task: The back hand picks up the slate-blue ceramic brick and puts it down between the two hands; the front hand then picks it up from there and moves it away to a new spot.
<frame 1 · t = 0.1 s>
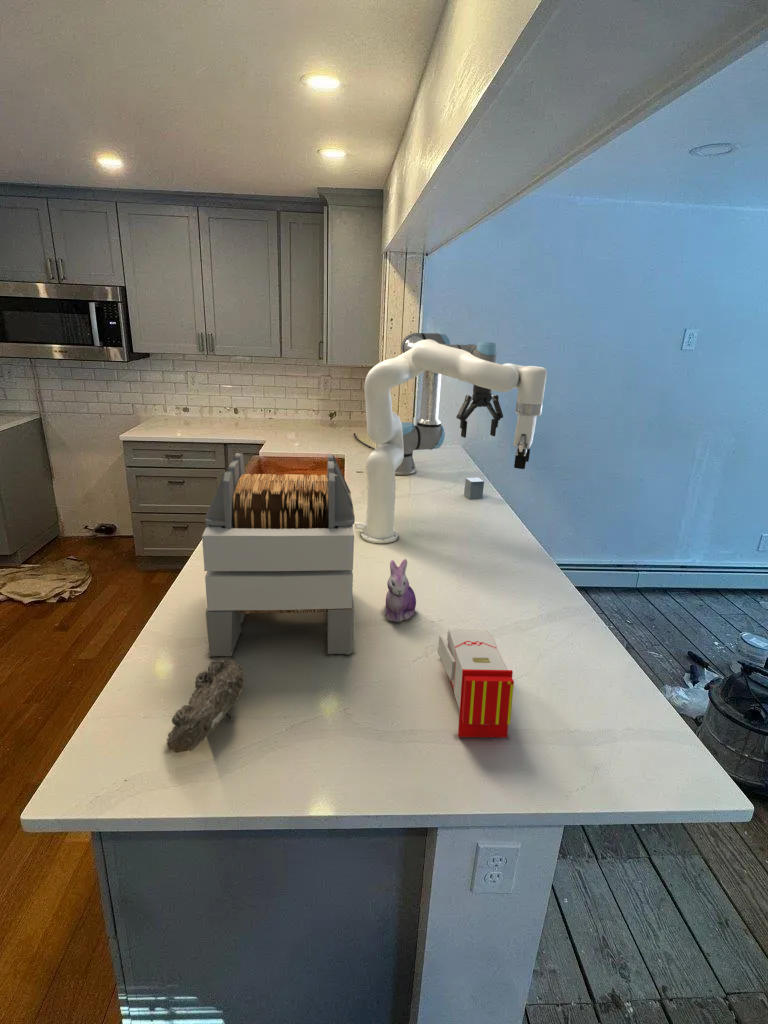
front hand: (521, 464, 175), 31 cm above the counter, tool pointing down, fingers open, 9 cm apart
back hand: (478, 436, 228), 28 cm above the counter, tool pointing down, fingers open, 13 cm apart
toy: (469, 691, 119), on the counter
fossil: (212, 717, 108), on the counter
figurine: (399, 614, 147), on the counter
brick: (473, 496, 244), on the counter
record crate stand: (285, 618, 143), on the counter
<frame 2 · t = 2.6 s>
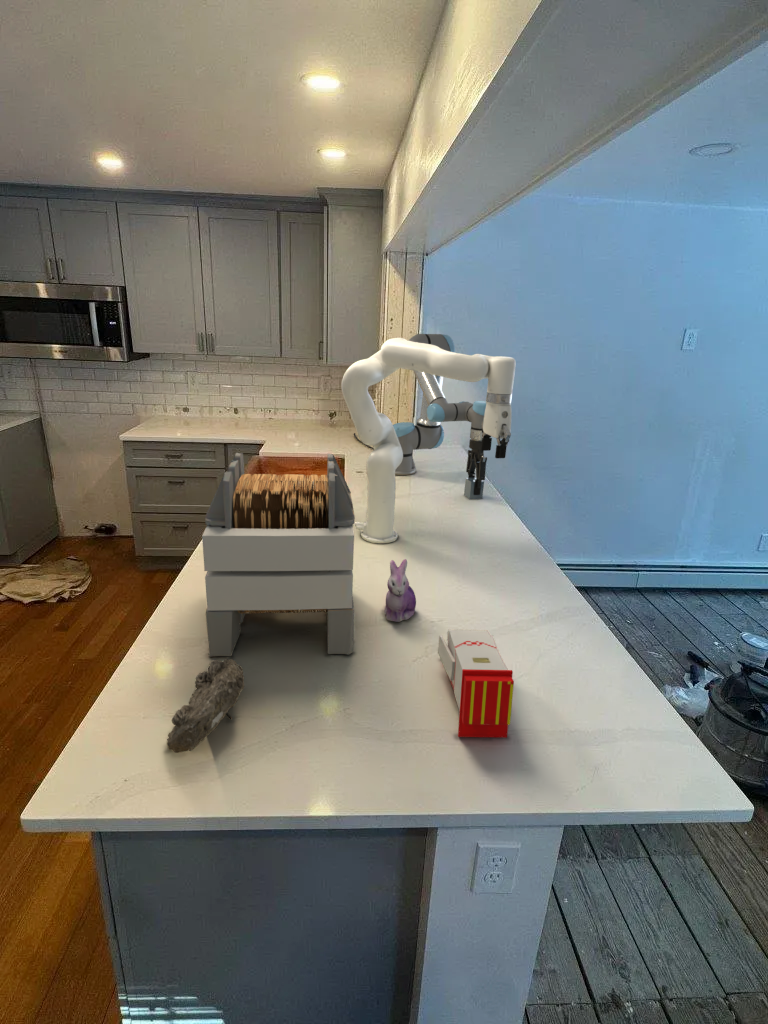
front hand: (492, 454, 177), 33 cm above the counter, tool pointing down, fingers open, 9 cm apart
back hand: (473, 492, 243), 2 cm above the counter, tool pointing down, fingers closed on brick, 6 cm apart
brick: (473, 496, 244), on the counter, touching back hand
everything else where it was.
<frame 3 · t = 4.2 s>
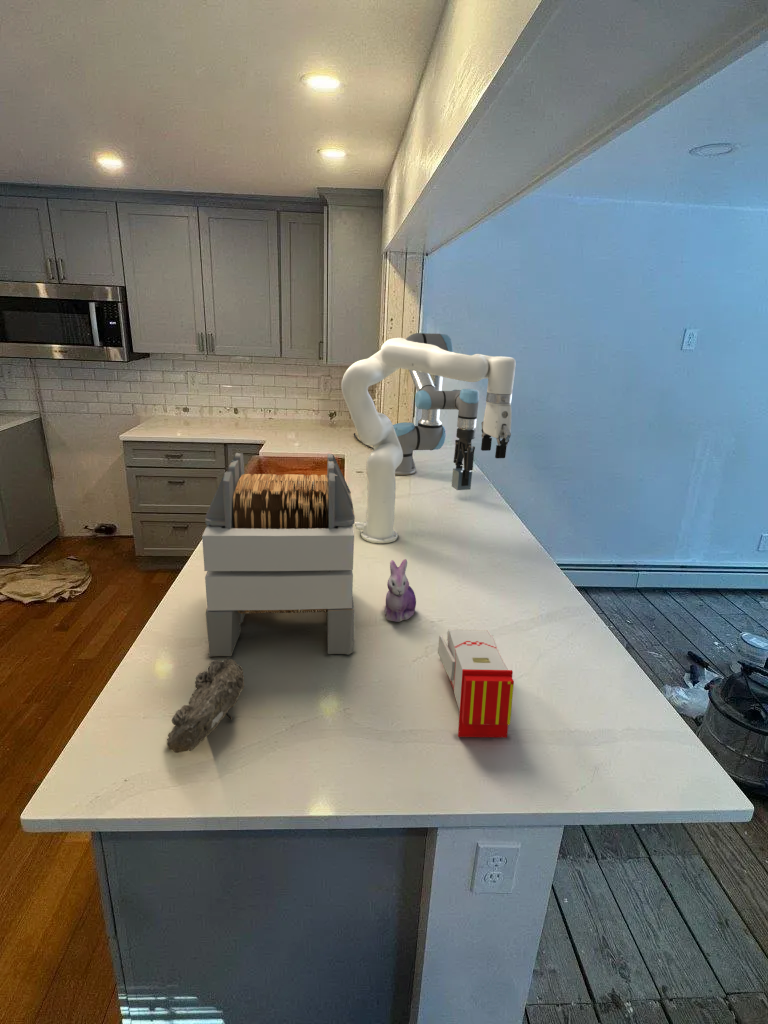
front hand: (492, 454, 177), 33 cm above the counter, tool pointing down, fingers open, 9 cm apart
back hand: (461, 483, 236), 7 cm above the counter, tool pointing down, fingers closed on brick, 6 cm apart
brick: (460, 487, 237), point 5 cm above the counter, touching back hand
everything else where it was.
when the back hand's fingers open (4 cm above the counter, at t = 5.9 s): brick drops 2 cm, on the counter.
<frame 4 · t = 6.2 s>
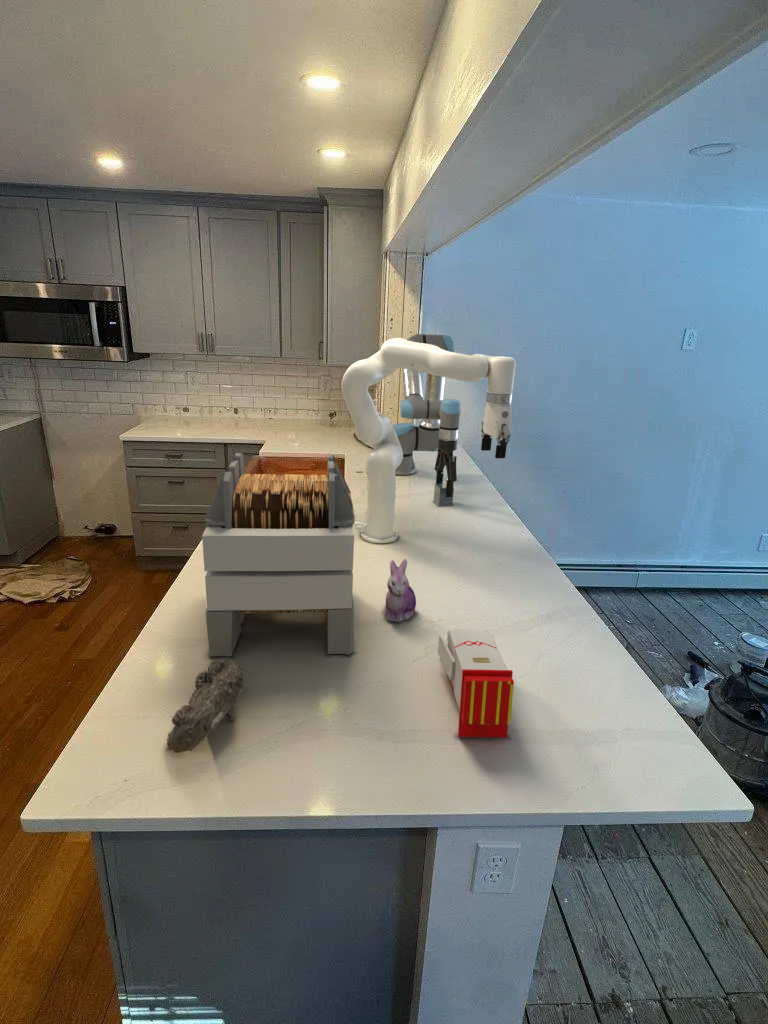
front hand: (492, 454, 177), 33 cm above the counter, tool pointing down, fingers open, 9 cm apart
back hand: (443, 492, 232), 5 cm above the counter, tool pointing down, fingers open, 10 cm apart
brick: (442, 503, 233), on the counter
everything else where it was.
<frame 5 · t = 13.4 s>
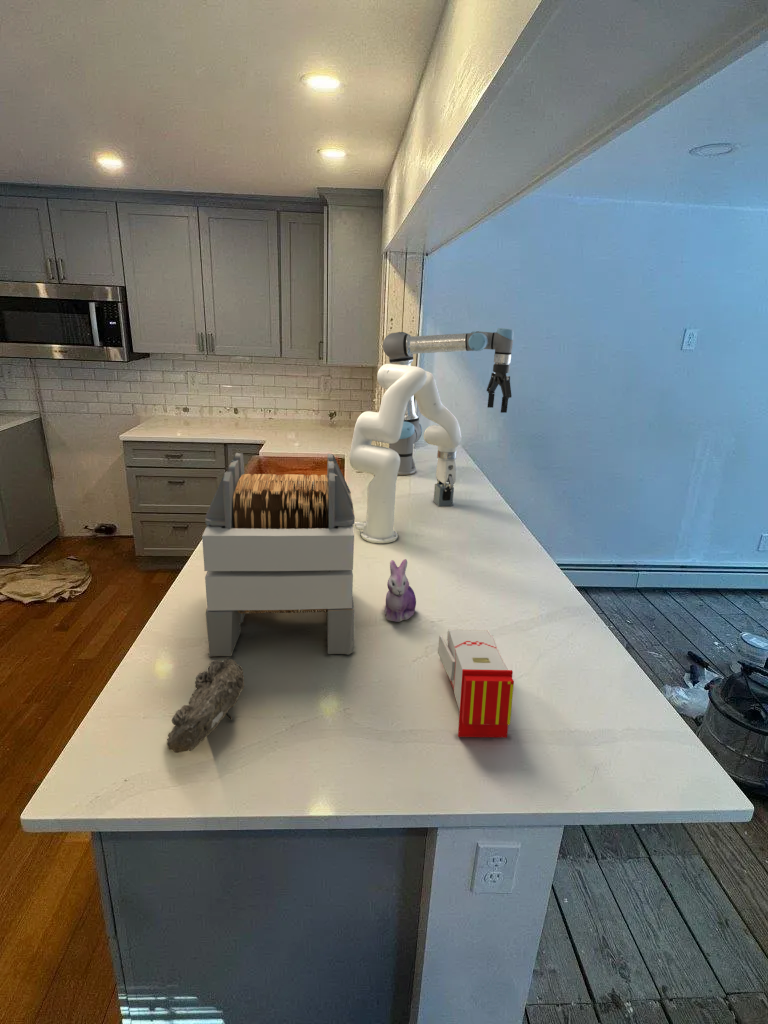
front hand: (443, 497, 232), 3 cm above the counter, tool pointing down, fingers closed on brick, 5 cm apart
back hand: (496, 410, 267), 32 cm above the counter, tool pointing down, fingers open, 13 cm apart
brick: (442, 503, 233), on the counter, touching front hand
everything else where it was.
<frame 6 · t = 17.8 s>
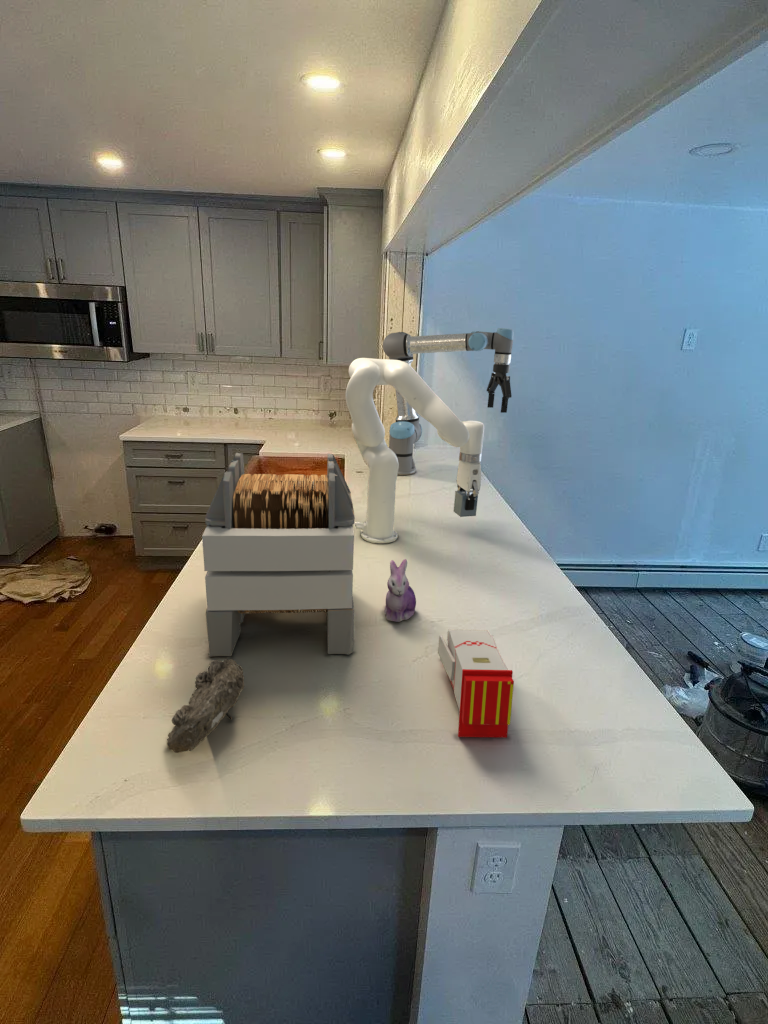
front hand: (465, 506, 201), 10 cm above the counter, tool pointing down, fingers closed on brick, 5 cm apart
back hand: (496, 410, 267), 32 cm above the counter, tool pointing down, fingers open, 13 cm apart
brick: (464, 513, 202), point 7 cm above the counter, touching front hand
everything else where it was.
when the front hand's fingers open (4 cm above the counter, at t = 22.1 s): brick drops 2 cm, on the counter.
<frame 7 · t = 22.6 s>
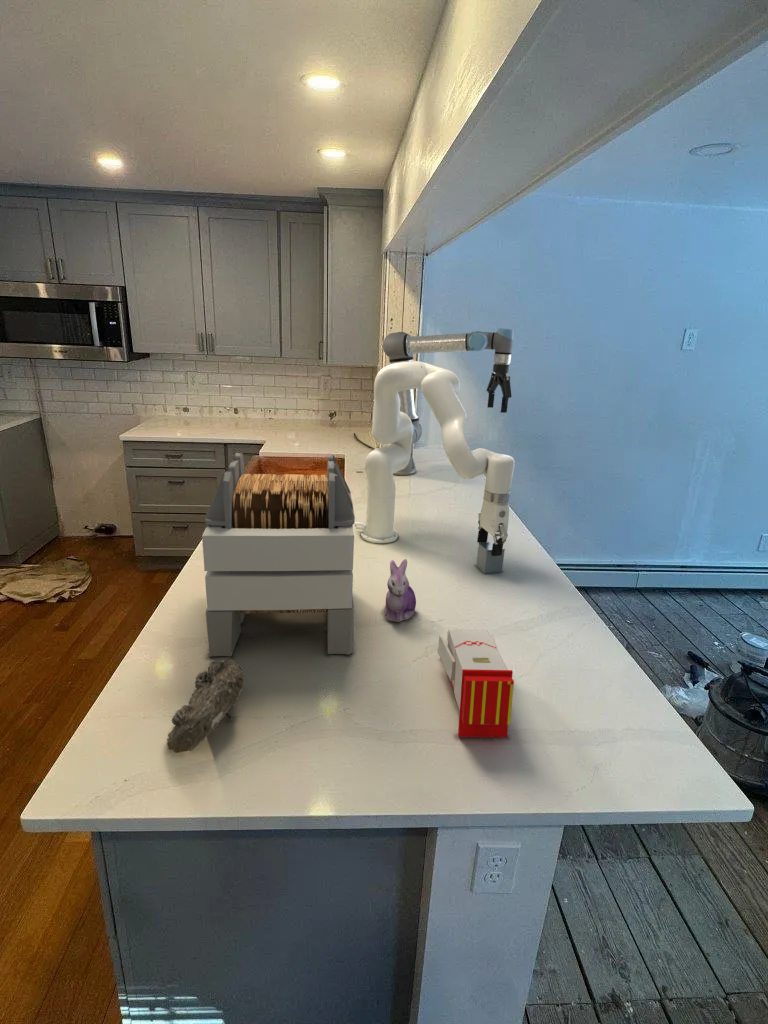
front hand: (488, 548, 174), 7 cm above the counter, tool pointing down, fingers open, 9 cm apart
back hand: (496, 410, 267), 32 cm above the counter, tool pointing down, fingers open, 13 cm apart
brick: (488, 568, 176), on the counter
everything else where it was.
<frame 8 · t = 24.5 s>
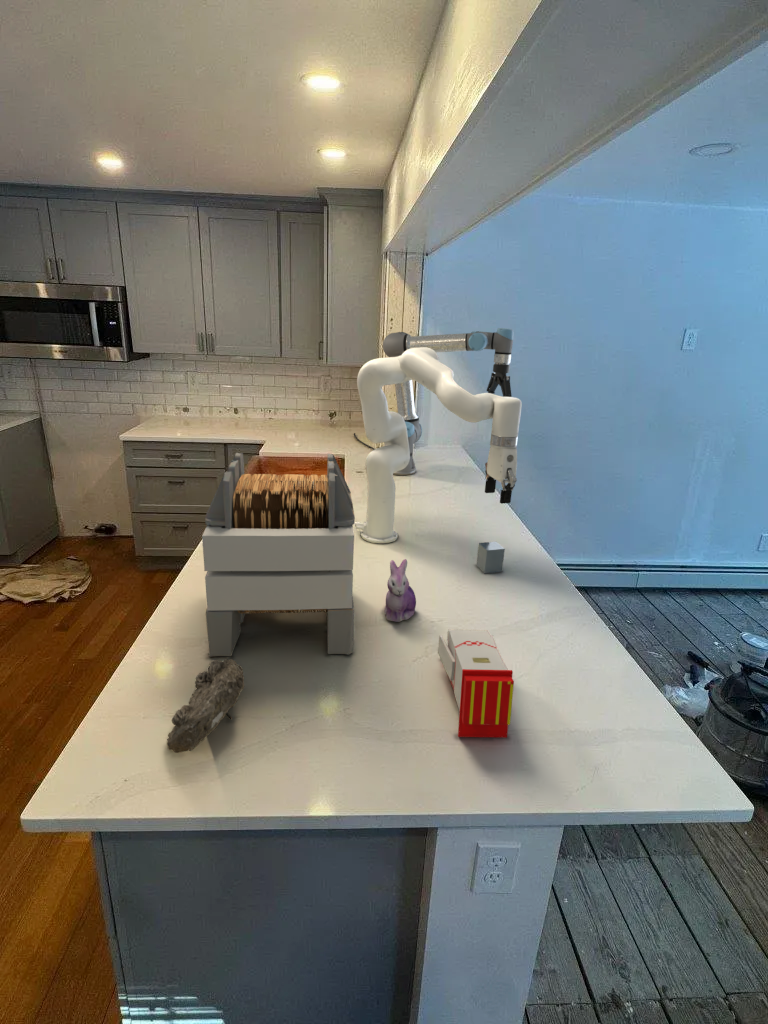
front hand: (497, 497, 168), 23 cm above the counter, tool pointing down, fingers open, 9 cm apart
back hand: (496, 410, 267), 32 cm above the counter, tool pointing down, fingers open, 13 cm apart
nothing on the counter moved.
at the end: brick inside the target area (0.1 cm from its centre), on the counter; brick tilted 0°; the two hands never held the brick at the same time; the front hand is holding nothing; the back hand is holding nothing; brick at rest at the end (0.0 cm/s) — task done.
